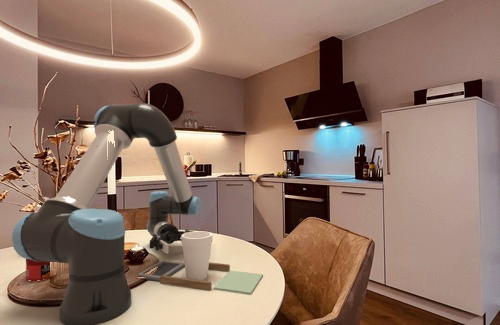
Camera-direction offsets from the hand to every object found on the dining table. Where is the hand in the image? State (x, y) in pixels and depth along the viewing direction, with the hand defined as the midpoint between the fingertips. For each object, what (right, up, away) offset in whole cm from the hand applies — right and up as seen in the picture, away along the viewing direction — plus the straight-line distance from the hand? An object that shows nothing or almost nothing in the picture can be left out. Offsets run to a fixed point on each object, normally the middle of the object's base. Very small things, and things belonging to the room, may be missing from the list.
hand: (187, 245), depth 91 cm
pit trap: (-8, -8, -3) cm, 11 cm away
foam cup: (+4, -8, -7) cm, 11 cm away
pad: (+18, -8, -11) cm, 22 cm away
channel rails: (+4, -8, -7) cm, 11 cm away
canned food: (-44, -8, -7) cm, 45 cm away
